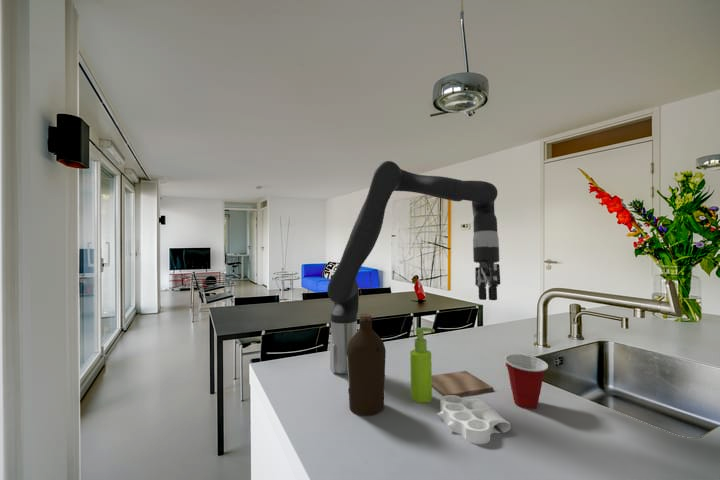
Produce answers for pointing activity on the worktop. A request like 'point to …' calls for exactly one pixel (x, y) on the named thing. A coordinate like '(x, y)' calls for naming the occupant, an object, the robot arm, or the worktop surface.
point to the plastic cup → (525, 378)
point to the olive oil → (366, 369)
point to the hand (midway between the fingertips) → (487, 300)
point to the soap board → (459, 384)
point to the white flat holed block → (471, 418)
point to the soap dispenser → (421, 369)
